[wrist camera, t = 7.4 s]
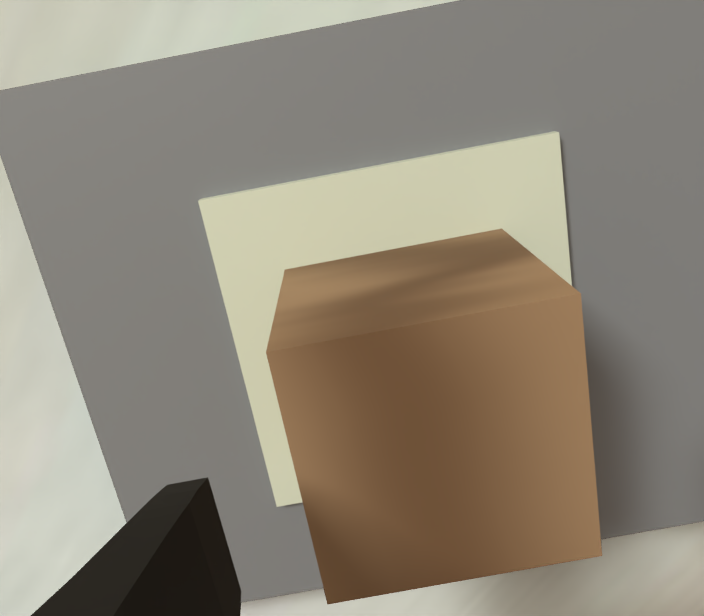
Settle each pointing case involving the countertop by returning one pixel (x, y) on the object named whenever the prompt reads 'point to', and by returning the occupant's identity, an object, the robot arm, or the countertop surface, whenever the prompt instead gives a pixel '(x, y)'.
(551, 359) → the walnut cube
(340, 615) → the countertop surface
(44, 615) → the robot arm
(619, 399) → the slate board
